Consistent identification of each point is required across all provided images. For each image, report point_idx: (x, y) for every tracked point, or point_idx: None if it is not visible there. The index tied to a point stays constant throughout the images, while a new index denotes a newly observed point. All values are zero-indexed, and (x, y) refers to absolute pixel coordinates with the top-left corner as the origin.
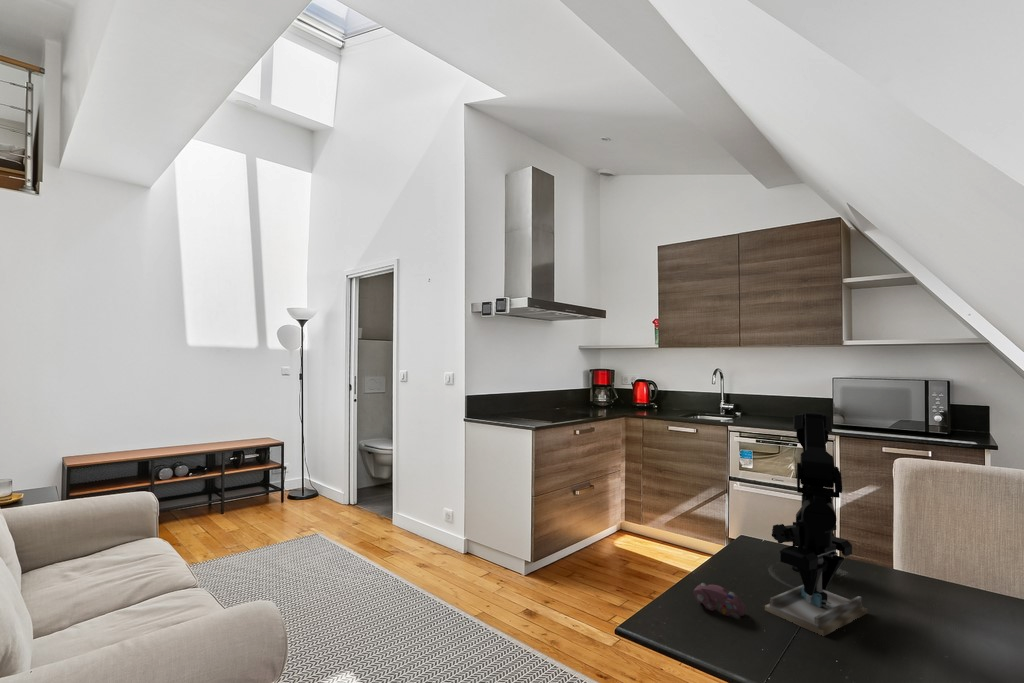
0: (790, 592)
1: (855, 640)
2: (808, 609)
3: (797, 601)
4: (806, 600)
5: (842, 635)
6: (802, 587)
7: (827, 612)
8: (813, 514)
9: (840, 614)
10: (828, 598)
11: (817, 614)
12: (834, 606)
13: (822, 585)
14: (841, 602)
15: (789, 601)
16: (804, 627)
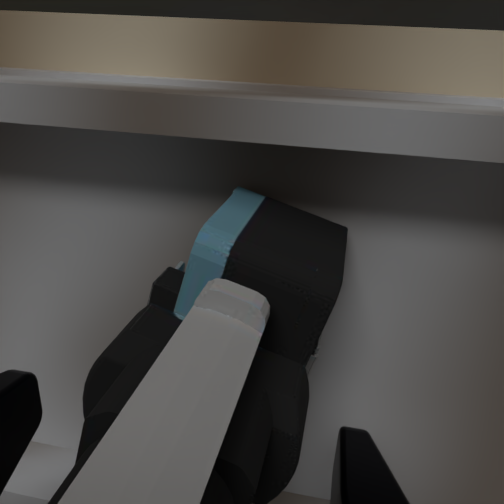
0: (64, 126)
1: None
2: (62, 320)
3: (117, 194)
4: (181, 263)
5: None
6: (195, 241)
7: (5, 501)
8: None
9: None
10: (489, 365)
11: (54, 389)
12: (328, 440)
13: (333, 494)
14: (485, 463)
15: (44, 139)
16: None
